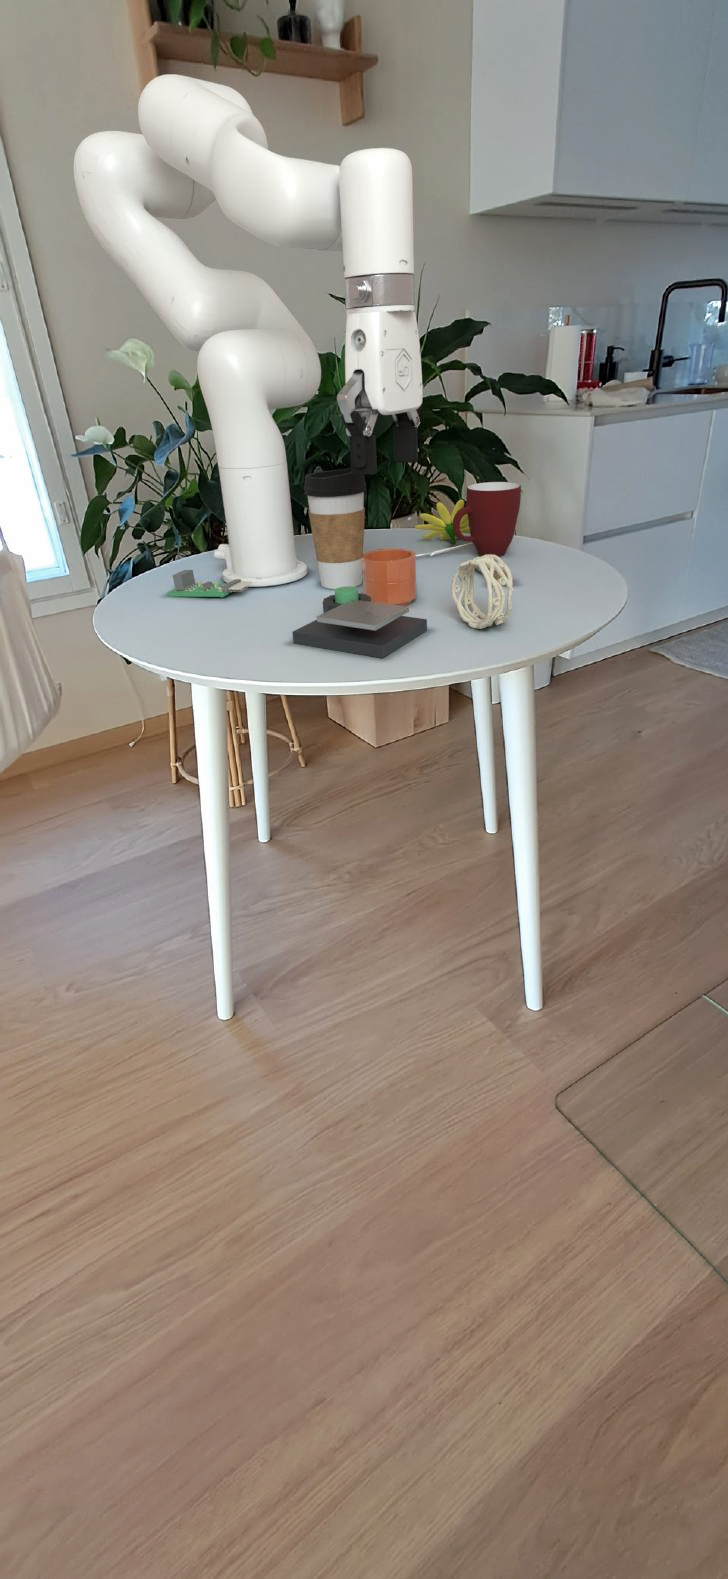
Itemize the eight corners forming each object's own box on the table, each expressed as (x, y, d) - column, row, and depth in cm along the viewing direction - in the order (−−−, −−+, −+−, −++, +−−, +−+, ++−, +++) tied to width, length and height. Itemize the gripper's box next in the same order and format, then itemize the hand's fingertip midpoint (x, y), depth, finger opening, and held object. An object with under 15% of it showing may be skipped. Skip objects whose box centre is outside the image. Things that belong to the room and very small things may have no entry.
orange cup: (354, 606, 98) (351, 559, 95) (381, 592, 103) (379, 546, 100) (399, 612, 95) (398, 563, 92) (425, 597, 100) (425, 550, 97)
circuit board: (253, 567, 106) (235, 576, 102) (257, 589, 107) (239, 599, 103) (183, 568, 110) (163, 577, 106) (187, 589, 111) (168, 599, 107)
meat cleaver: (527, 578, 103) (495, 584, 102) (526, 587, 104) (494, 592, 102) (483, 555, 112) (453, 560, 111) (482, 563, 113) (453, 568, 111)
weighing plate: (316, 622, 84) (316, 616, 83) (352, 604, 89) (352, 599, 88) (375, 630, 80) (375, 625, 80) (409, 611, 85) (409, 606, 85)
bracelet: (473, 615, 93) (474, 547, 89) (517, 631, 87) (520, 560, 83) (446, 621, 91) (446, 553, 87) (489, 638, 85) (491, 566, 81)
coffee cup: (364, 592, 104) (358, 474, 96) (305, 591, 105) (294, 476, 98) (376, 575, 111) (371, 465, 103) (320, 575, 113) (311, 466, 105)
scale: (287, 642, 87) (284, 616, 86) (341, 614, 95) (340, 590, 94) (382, 658, 81) (381, 631, 80) (432, 627, 89) (432, 602, 88)
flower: (439, 492, 118) (501, 511, 123) (402, 532, 128) (461, 548, 133) (442, 515, 117) (504, 533, 122) (403, 553, 126) (463, 569, 132)
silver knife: (478, 543, 124) (370, 563, 118) (478, 536, 123) (370, 556, 118) (491, 549, 120) (380, 570, 115) (491, 543, 120) (380, 563, 115)
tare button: (330, 604, 90) (329, 591, 90) (343, 598, 92) (342, 585, 92) (350, 607, 89) (349, 593, 88) (363, 600, 91) (362, 587, 90)
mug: (470, 566, 113) (471, 495, 108) (442, 555, 119) (442, 488, 114) (528, 555, 117) (532, 486, 112) (498, 546, 123) (500, 480, 118)
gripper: (366, 293, 74) (374, 480, 83) (446, 296, 87) (446, 458, 95) (305, 299, 78) (318, 478, 87) (390, 302, 91) (394, 457, 99)
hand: (385, 467), depth 91 cm, fingers open, 9 cm apart
